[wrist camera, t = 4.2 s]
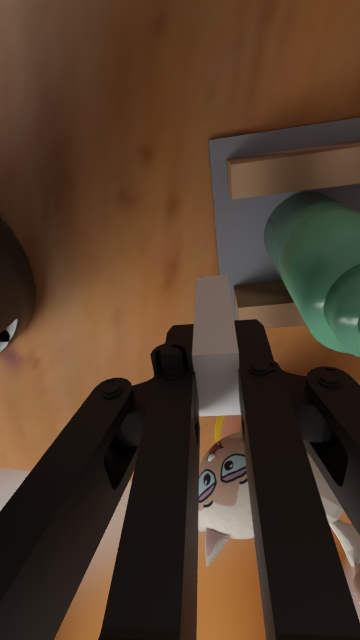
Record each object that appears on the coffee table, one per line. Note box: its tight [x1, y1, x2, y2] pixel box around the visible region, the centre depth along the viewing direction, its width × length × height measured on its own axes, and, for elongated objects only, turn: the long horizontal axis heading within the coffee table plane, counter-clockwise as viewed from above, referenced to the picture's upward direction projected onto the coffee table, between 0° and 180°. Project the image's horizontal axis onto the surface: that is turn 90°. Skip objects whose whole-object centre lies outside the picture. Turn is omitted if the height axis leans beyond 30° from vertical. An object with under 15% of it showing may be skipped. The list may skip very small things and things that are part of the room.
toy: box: [198, 415, 360, 604], centre depth 26 cm, size 9×19×15 cm, turn 51°
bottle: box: [264, 192, 360, 357], centre depth 17 cm, size 5×5×15 cm
